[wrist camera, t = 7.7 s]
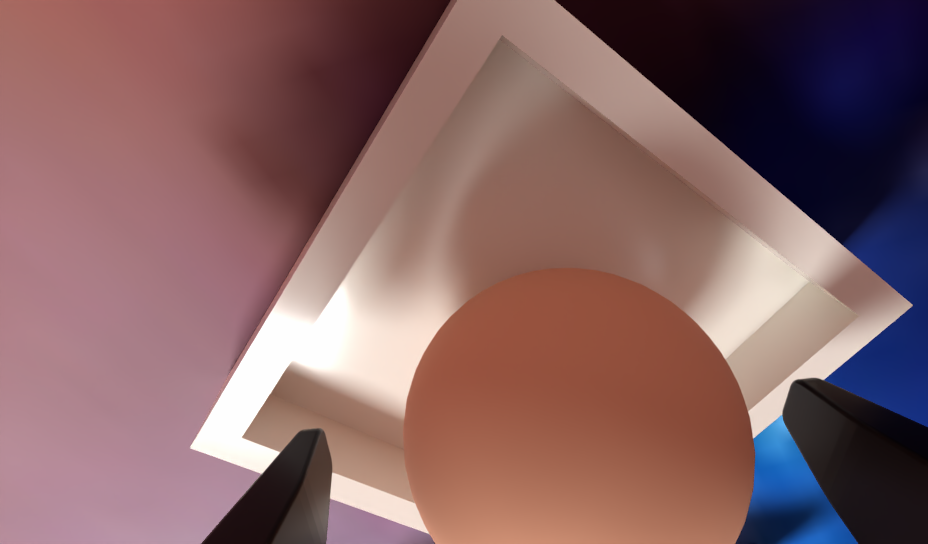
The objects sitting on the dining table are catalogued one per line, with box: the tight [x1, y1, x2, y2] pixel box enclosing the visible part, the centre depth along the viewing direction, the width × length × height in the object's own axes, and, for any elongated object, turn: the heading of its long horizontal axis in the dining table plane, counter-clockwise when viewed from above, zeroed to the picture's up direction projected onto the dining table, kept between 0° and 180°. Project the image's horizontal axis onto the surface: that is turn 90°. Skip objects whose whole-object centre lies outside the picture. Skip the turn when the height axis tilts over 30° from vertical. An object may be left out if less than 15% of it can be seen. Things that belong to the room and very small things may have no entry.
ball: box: [403, 268, 755, 544], centre depth 9 cm, size 6×6×6 cm
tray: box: [190, 0, 913, 534], centre depth 11 cm, size 11×11×2 cm
